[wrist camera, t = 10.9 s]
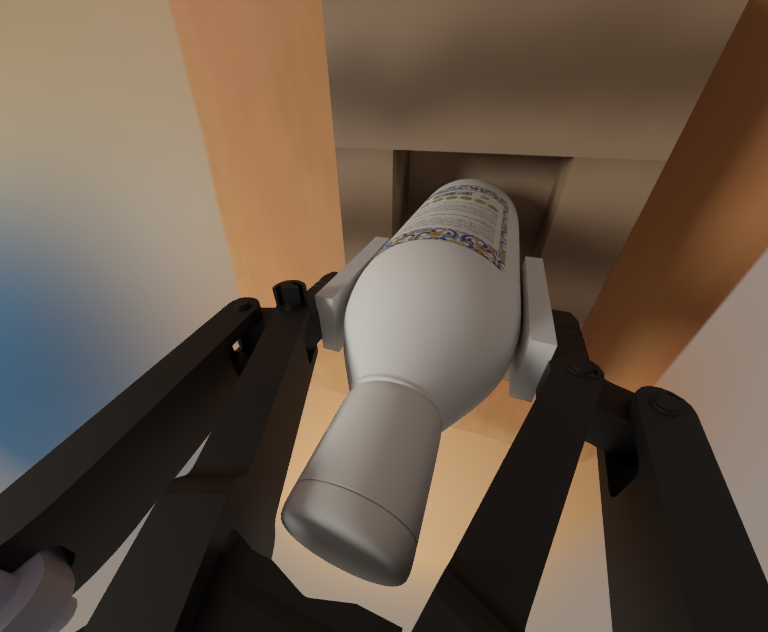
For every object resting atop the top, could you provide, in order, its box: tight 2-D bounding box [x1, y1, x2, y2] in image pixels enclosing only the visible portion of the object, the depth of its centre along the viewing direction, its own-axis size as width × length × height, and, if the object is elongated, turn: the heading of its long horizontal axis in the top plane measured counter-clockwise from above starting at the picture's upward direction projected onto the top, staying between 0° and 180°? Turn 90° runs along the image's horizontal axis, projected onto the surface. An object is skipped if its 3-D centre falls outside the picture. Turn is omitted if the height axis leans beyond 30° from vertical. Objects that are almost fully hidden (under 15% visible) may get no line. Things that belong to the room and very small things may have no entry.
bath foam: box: [281, 179, 522, 586], centre depth 13 cm, size 7×7×20 cm
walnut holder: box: [322, 0, 749, 381], centre depth 21 cm, size 24×18×5 cm
